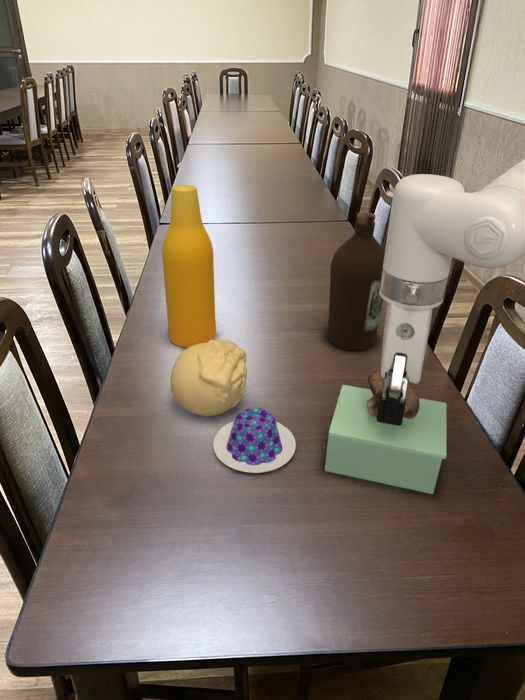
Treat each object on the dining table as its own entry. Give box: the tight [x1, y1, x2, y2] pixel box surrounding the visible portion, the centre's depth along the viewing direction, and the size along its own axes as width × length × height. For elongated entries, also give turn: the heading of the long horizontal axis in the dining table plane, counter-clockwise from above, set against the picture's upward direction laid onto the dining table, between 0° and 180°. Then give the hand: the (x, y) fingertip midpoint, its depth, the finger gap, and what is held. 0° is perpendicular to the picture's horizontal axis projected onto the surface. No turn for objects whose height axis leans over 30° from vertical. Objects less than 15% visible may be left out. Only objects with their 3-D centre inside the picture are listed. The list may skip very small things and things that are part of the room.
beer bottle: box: [161, 184, 217, 349], centre depth 98 cm, size 9×9×29 cm
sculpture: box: [169, 339, 248, 417], centre depth 84 cm, size 11×12×11 cm
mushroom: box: [366, 369, 420, 419], centre depth 72 cm, size 8×8×6 cm
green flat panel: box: [327, 384, 447, 460], centre depth 74 cm, size 15×12×1 cm
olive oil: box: [327, 211, 385, 352], centre depth 100 cm, size 11×11×25 cm
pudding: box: [212, 407, 297, 474], centre depth 77 cm, size 12×12×5 cm
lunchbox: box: [324, 436, 443, 495], centre depth 76 cm, size 15×12×6 cm
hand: (391, 403), depth 73 cm, fingers closed on mushroom, 7 cm apart
